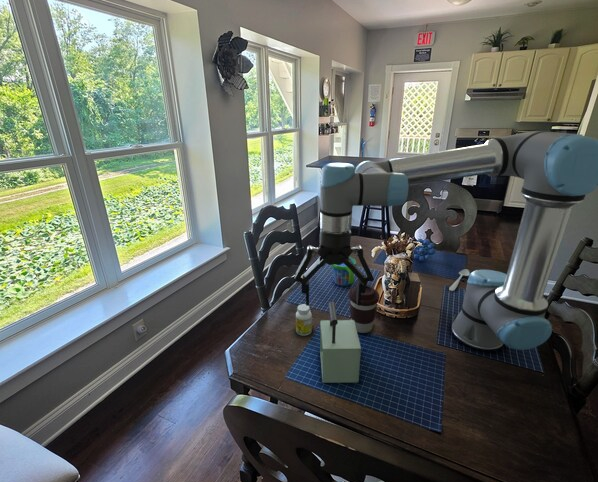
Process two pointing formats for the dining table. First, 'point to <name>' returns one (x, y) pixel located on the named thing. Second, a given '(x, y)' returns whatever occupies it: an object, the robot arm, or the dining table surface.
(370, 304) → the coffee cup
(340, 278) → the snack cup
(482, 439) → the dining table surface
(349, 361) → the pale green square box
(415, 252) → the grapes
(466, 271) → the spoon
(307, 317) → the supplement bottle
